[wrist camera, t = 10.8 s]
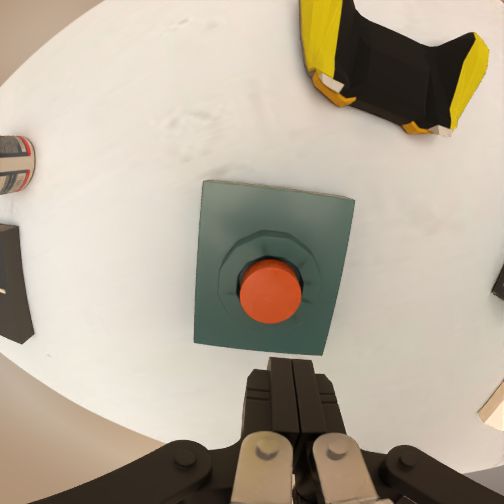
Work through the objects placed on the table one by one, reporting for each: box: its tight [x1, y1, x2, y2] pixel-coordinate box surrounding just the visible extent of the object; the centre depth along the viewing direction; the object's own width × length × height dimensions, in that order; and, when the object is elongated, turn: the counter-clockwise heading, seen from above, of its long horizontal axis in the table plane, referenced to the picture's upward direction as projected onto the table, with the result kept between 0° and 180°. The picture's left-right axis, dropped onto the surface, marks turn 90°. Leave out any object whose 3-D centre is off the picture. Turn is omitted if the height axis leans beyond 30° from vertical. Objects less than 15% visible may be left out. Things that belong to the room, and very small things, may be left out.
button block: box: [194, 180, 355, 356], centre depth 21 cm, size 12×10×4 cm
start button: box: [240, 259, 301, 324], centre depth 18 cm, size 4×4×2 cm
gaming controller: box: [299, 0, 489, 137], centre depth 15 cm, size 15×6×10 cm
